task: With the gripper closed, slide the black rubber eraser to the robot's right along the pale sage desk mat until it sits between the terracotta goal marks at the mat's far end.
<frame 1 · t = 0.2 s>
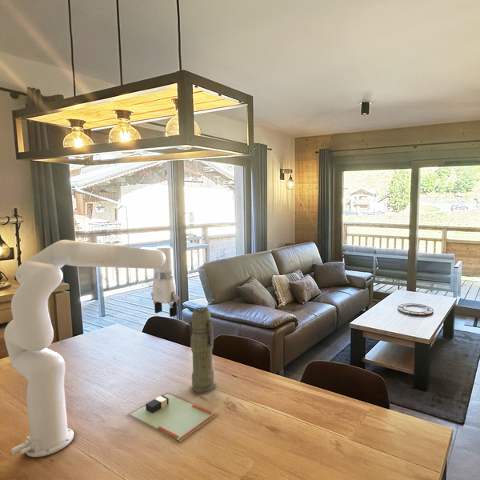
hand: (165, 314, 149), 31 cm above the table, tool pointing down, fingers open, 9 cm apart
thermos: (203, 388, 148), on the table
desk mat: (173, 415, 129), on the table
eraser: (157, 407, 133), resting on desk mat
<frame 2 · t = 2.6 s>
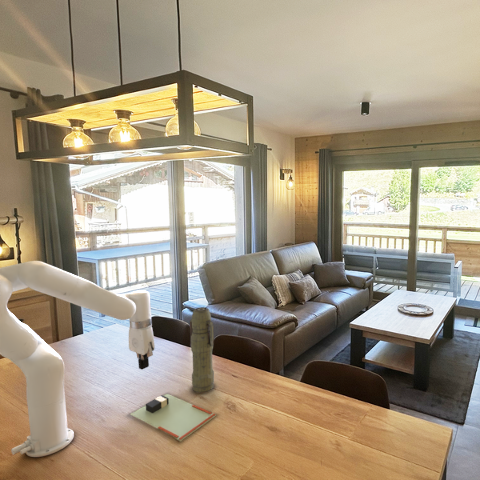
hand: (143, 367, 136), 14 cm above the table, tool pointing down, fingers closed
nothing on the table moved.
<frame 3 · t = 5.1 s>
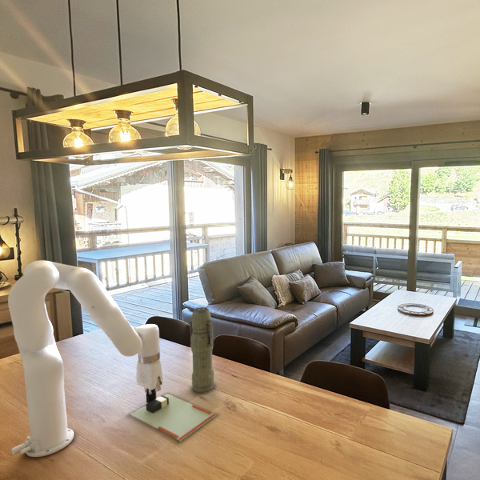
hand: (151, 401, 135), 2 cm above the table, tool pointing down, fingers closed
eraser: (157, 407, 133), resting on desk mat, touching gripper
everything else where it was.
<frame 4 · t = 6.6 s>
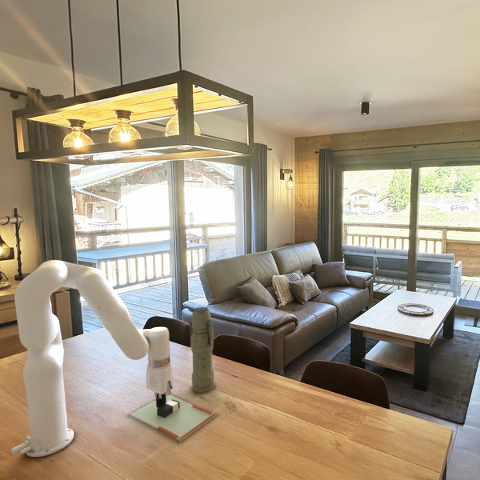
hand: (161, 406, 132), 2 cm above the table, tool pointing down, fingers closed
eraser: (168, 411, 131), resting on desk mat, touching gripper
everything else where it was.
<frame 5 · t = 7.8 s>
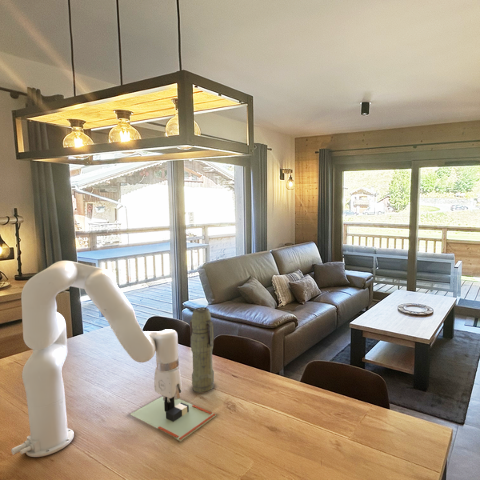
hand: (169, 409, 130), 2 cm above the table, tool pointing down, fingers closed
eraser: (177, 415, 129), resting on desk mat, touching gripper
everything else where it was.
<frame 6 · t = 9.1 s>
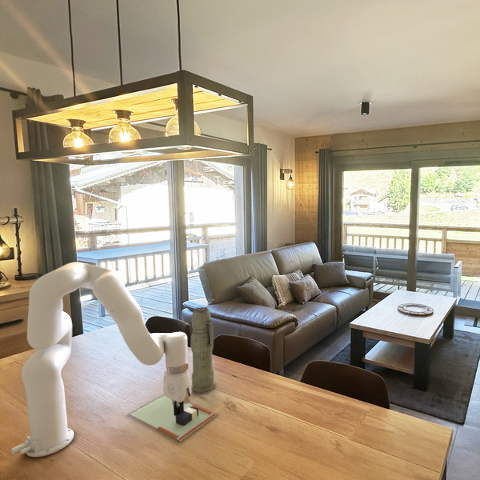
hand: (179, 414, 127), 2 cm above the table, tool pointing down, fingers closed
eraser: (187, 419, 126), resting on desk mat, touching gripper
everything else where it was.
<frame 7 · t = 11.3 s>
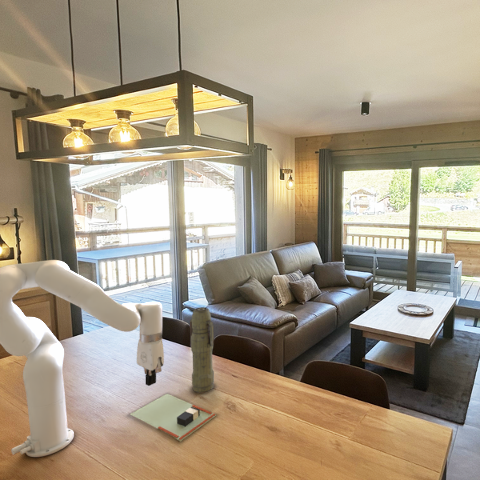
hand: (150, 383, 128), 12 cm above the table, tool pointing down, fingers closed
eraser: (188, 419, 126), resting on desk mat
everything else where it was.
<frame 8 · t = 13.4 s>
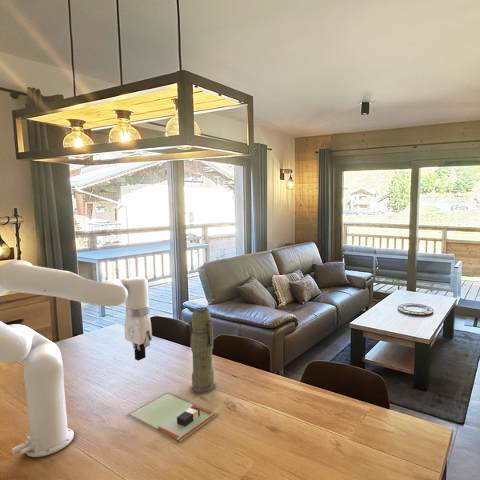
hand: (140, 358, 129), 21 cm above the table, tool pointing down, fingers closed
nothing on the table moved.
at the end: eraser inside the target area (0.9 cm from its centre), resting on desk mat; eraser moved 16.6 cm from its start; eraser tilted 0° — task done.
